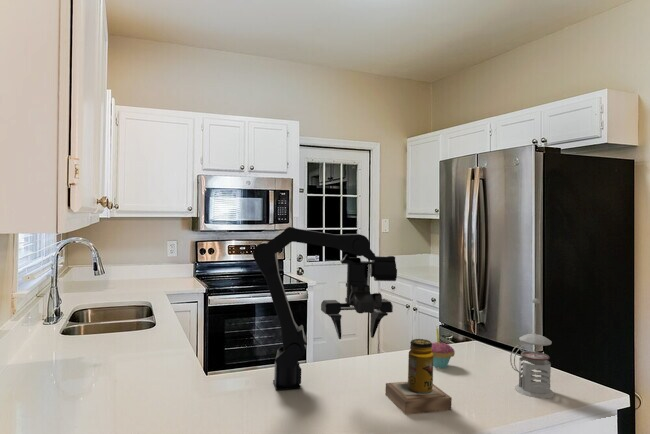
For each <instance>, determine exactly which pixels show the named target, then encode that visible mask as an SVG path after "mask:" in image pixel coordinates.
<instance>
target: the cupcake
mask: <svg viewBox="0 0 650 434" xmlns="http://www.w3.org/2000/svg"><path fill="white" fill-rule="evenodd" d="M431 343H432V353H433V368H434V367H435V368H437V369H438V368H439V369H445V368H448V365H449V363H450V360H451V358H453V357H454V356H455V354H456V353H455V352H456V351H455V349H454V348H453V347H452V346H451V345H450V344H449V343H444V342H440V332H439V328H438V327H436V342H435V341H434V342H431Z"/></svg>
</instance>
